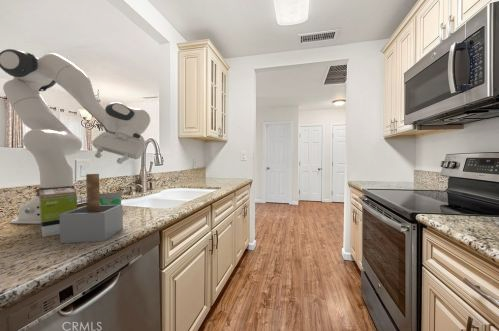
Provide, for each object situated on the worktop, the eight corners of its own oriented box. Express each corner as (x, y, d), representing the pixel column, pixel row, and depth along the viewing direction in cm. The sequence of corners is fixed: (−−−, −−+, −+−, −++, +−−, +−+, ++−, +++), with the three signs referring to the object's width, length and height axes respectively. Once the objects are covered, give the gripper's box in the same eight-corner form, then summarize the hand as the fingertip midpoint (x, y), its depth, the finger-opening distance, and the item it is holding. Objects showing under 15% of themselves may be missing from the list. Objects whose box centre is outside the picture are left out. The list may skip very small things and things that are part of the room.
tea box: (40, 228, 85) (38, 189, 85) (73, 222, 92) (72, 187, 92) (41, 237, 75) (39, 193, 74) (78, 230, 82) (77, 190, 81)
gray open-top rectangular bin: (60, 243, 69) (59, 214, 69) (85, 229, 82) (84, 205, 82) (105, 240, 71) (104, 212, 71) (122, 228, 84) (122, 204, 84)
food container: (109, 215, 104) (109, 194, 103) (98, 214, 105) (98, 193, 105) (129, 209, 116) (128, 190, 115) (118, 209, 117) (118, 190, 117)
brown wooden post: (77, 235, 74) (75, 174, 73) (86, 230, 79) (84, 173, 78) (103, 233, 75) (101, 174, 74) (110, 229, 80) (108, 173, 79)
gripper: (101, 125, 98) (80, 148, 89) (146, 137, 97) (128, 161, 89) (107, 135, 103) (87, 158, 94) (149, 147, 102) (133, 170, 94)
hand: (107, 159), depth 91 cm, fingers open, 8 cm apart
